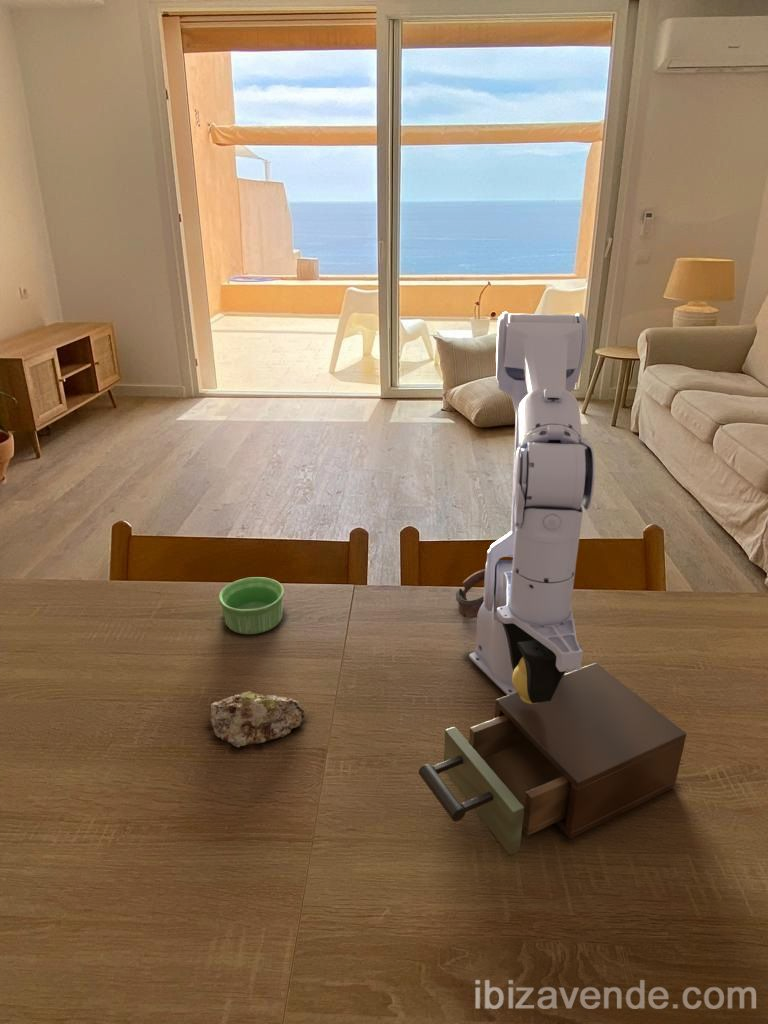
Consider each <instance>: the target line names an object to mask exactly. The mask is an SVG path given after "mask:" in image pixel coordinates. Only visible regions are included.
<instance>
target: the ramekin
mask: <svg viewBox="0 0 768 1024" xmlns="http://www.w3.org/2000/svg"><path fill="white" fill-rule="evenodd" d="M284 595H285V590H284V587H283V585H282V584H281V583H280V582H279V581H277V580H275V579H273V578H269V577H262V576H253V577H252V576H251V577H245V578H241V579H238V580H235V581H232V582H230V583H228V584H226V585H225V587H223V588H222V589H221V590H220V592H219V594H218V601H219V604H220V606H221V609H222V613H223V618H224V622H225V625H226V626H227V627H228V628H229V629H230V630H231V631H232V632H235V633H237V634H241V635H243V634H244V635H257V634H262V633H265V632H268V631H270V630H272V629H273V628H275V627H277V626H278V625H279V624H280V622H281V621H282V619H283V613H284V612H283V609H284V608H283V607H284V606H283V604H284V603H283V602H284V600H283V599H284Z"/></svg>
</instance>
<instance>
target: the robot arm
mask: <svg viewBox="0 0 768 1024" xmlns="http://www.w3.org/2000/svg"><path fill="white" fill-rule="evenodd" d="M497 319H498V320H497V332H496V335H497V336H496V347H495V348H496V352H495V363H496V372H495V380H496V382H497V389H498V390H500V391H502V392H503V393H505V394H507V395H508V396H510V398H511V401H512V405H513V409H514V414H515V415H514V416H515V423H514V424H515V425H514V445H513V446H514V447H513V471H512V492H511V493H512V494H511V513H510V514H511V516H510V517H511V518H510V531H509V532H508V533H507V534H505V535H504V536H502V537H500V538H499V539H497V540H496V541H494V542H493V543H491V545H489V549H488V550H487V552H486V562H485V568H484V569H485V580H483V583H484V584H483V596H484V602H483V604H482V605H481V607H480V609H479V611H478V615H477V618H476V631H475V647H474V648H475V650H474V652H471V653H469V654H468V656H469V657H468V658H469V659H470V660H471V661H472V663H473V664H475V665H476V666H477V667H478V668H479V669H480V670H481V671H482V672H483V673H484V674H485V675H486V676H487V677H488V678H489V679H490V680H491V681H492V682H493V683H494V684H495V685H496V686H497V687H498V688H499V689H500V690H501V691H502V692H503V693H504V694H506V696H507V695H510V694H513V693H516V692H517V691H516V690H515V688H514V686H513V682H512V675H513V672H514V669H515V668H516V666H517V665H518V664H519V661H520V660H521V658H522V657H523V658H524V662H525V666H526V672H527V691H528V696H529V699H530V701H531V702H532V703H539V702H546V701H551V699H552V697H553V695H554V693H555V691H556V688H557V686H558V684H559V682H560V680H561V678H562V677H563V675H564V674H566V673H567V672H572V671H575V670H578V669H581V668H582V662H583V655H584V650H583V649H582V646H581V645H580V644H579V641H578V636H577V631H576V625H575V619H574V613H573V608H572V603H573V592H574V585H575V578H576V570H577V569H576V568H577V567H576V566H577V560H578V554H579V553H578V552H579V543H580V535H581V528H582V522H583V521H582V520H583V514H584V513H583V511H584V510H583V509H585V510H588V509H589V508H590V506H591V502H592V499H593V495H594V489H595V483H596V461H595V454H594V446H593V444H592V443H591V442H589V438H588V437H583V431H582V422H581V413H580V406H579V405H580V404H579V402H578V399H577V398H576V397H575V395H574V394H573V393H571V392H574V391H575V388H576V384H577V383H578V382H579V379H580V375H581V372H582V367H583V365H584V363H585V359H586V355H587V347H588V339H589V337H588V336H589V326H588V325H589V324H588V323H589V322H588V319H587V317H585V315H584V313H582V312H577V313H576V314H570V313H569V314H568V313H567V314H566V313H564V314H561V313H559V314H558V313H555V314H554V313H509V312H507V311H504V312H502V314H500V316H498V318H497ZM582 504H583V505H582ZM582 506H583V507H582ZM507 557H508V558H512V560H510V559H509V560H508V559H502V558H507Z"/></svg>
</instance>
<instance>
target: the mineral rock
mask: <svg viewBox="0 0 768 1024" xmlns="http://www.w3.org/2000/svg"><path fill="white" fill-rule="evenodd" d="M210 708H211V709H210V711H211V714H210V723H211V727H212V729H213V733H214V735H215V736H216V737H217V738H221V740H222V741H225V742H227V743H229V744H231V745H232V746H233V747H236V748H240V747H243V746H244V747H245V746H247V745H252V744H256V745H257V744H263V743H266V742H268V741H271V740H276V739H278V738H280V737H282V738H284V737H285V736H287V735H288V734H291V731H292V729H294V728H298V727H300V726H301V723H302V722H303V721H304V719H305V716H306V714H304V713H305V710H304V709H302V707H301V704H300V702H299V701H297V700H296V699H294V698H293V697H289V698H287V697H285V696H277V695H276V694H269V695H266V696H264V695H263V694H261V693H255V692H252V691H250V690H248V691H247V690H246V691H244V692H240V693H236V694H233V695H230V696H228V697H227V698H224V699H221V700H219V701H214V702H212V703H211V704H210Z"/></svg>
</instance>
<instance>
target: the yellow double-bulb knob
mask: <svg viewBox="0 0 768 1024" xmlns="http://www.w3.org/2000/svg"><path fill="white" fill-rule="evenodd" d="M512 682H513V686H514V688H515V690H516V691H517V693H518V694H519V695H520V698H521V699H522V700H523V701H524V702H526V703H529V704H536V703H532V702H531V701H530V699H529V696H528V691H527V672H526V666H525V662H524V658H523V657H522V658H521V660H520V661H519V664H518V665H517V666H516V668H515V669H514V672H513V675H512Z"/></svg>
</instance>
